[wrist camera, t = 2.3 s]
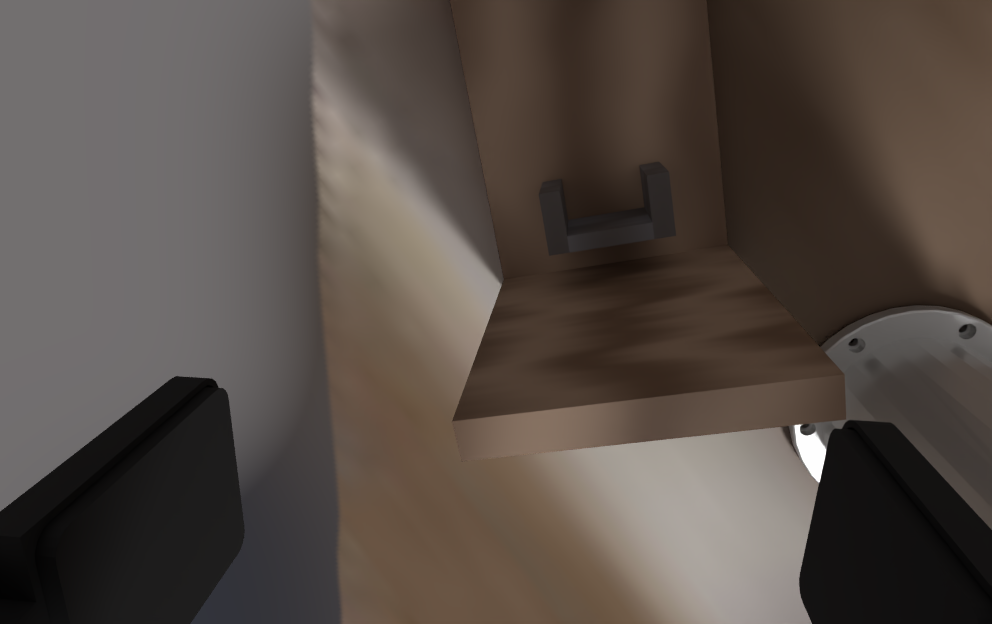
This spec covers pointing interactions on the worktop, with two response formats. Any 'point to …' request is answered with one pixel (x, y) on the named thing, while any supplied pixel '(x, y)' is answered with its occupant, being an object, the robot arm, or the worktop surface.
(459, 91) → the worktop surface
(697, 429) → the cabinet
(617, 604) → the worktop surface
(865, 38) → the worktop surface
